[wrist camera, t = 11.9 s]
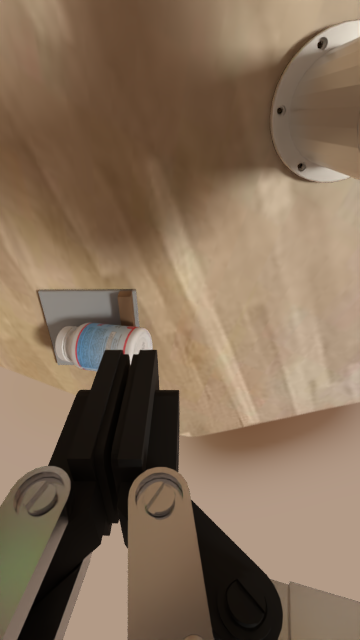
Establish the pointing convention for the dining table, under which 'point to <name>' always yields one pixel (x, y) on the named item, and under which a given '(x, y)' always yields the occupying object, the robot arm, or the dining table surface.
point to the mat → (81, 310)
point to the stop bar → (126, 308)
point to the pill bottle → (99, 343)
